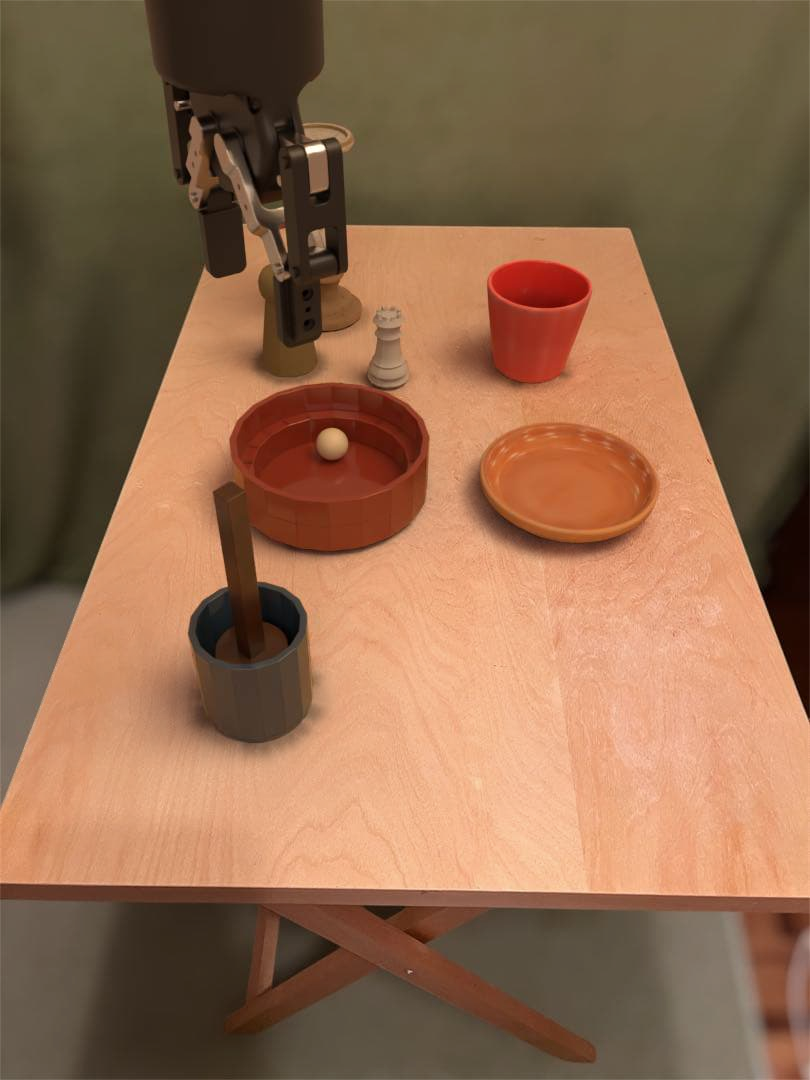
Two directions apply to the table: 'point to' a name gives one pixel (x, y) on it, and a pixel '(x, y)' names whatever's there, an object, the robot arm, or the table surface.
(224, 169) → the robot arm
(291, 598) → the crock
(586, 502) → the saucer
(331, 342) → the table surface
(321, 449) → the dough ball
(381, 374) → the rook chess piece
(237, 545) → the wooden pestle
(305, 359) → the brown peg figure
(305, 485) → the bowl
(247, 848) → the table surface
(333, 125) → the candle holder
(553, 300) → the flower pot
